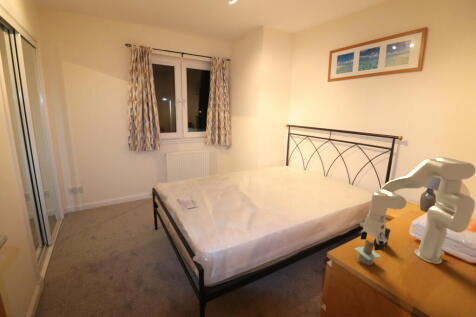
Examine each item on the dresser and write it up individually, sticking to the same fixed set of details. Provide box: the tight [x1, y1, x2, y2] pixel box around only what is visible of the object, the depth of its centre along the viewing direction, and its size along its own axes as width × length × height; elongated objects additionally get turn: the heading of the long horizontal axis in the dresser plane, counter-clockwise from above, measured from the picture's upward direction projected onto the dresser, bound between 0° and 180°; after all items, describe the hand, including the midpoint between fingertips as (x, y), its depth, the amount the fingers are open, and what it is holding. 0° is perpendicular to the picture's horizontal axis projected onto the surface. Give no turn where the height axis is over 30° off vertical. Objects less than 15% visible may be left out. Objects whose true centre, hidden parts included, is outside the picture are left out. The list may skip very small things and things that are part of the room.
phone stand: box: [373, 227, 391, 250], centre depth 140 cm, size 9×6×12 cm, turn 134°
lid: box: [353, 239, 382, 260], centre depth 123 cm, size 10×10×7 cm
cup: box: [357, 253, 375, 266], centre depth 124 cm, size 7×7×4 cm
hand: (369, 244), depth 123 cm, fingers open, 9 cm apart
